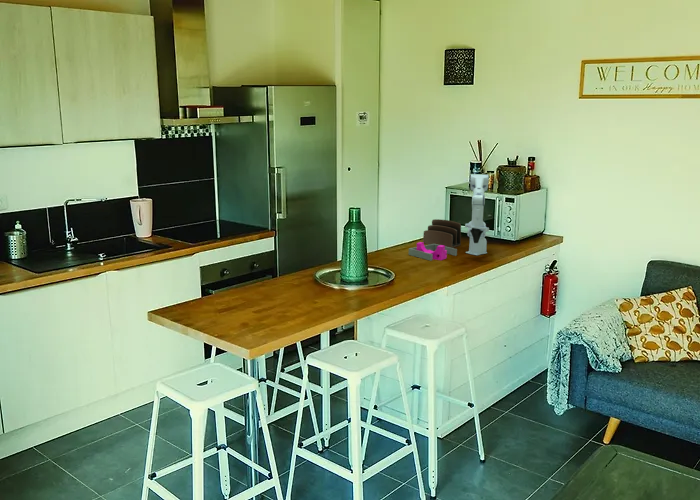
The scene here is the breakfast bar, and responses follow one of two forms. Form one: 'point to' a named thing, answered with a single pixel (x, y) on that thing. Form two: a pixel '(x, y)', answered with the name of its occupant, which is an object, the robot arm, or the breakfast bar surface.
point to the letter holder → (443, 233)
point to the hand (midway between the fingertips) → (476, 242)
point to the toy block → (437, 254)
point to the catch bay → (427, 255)
